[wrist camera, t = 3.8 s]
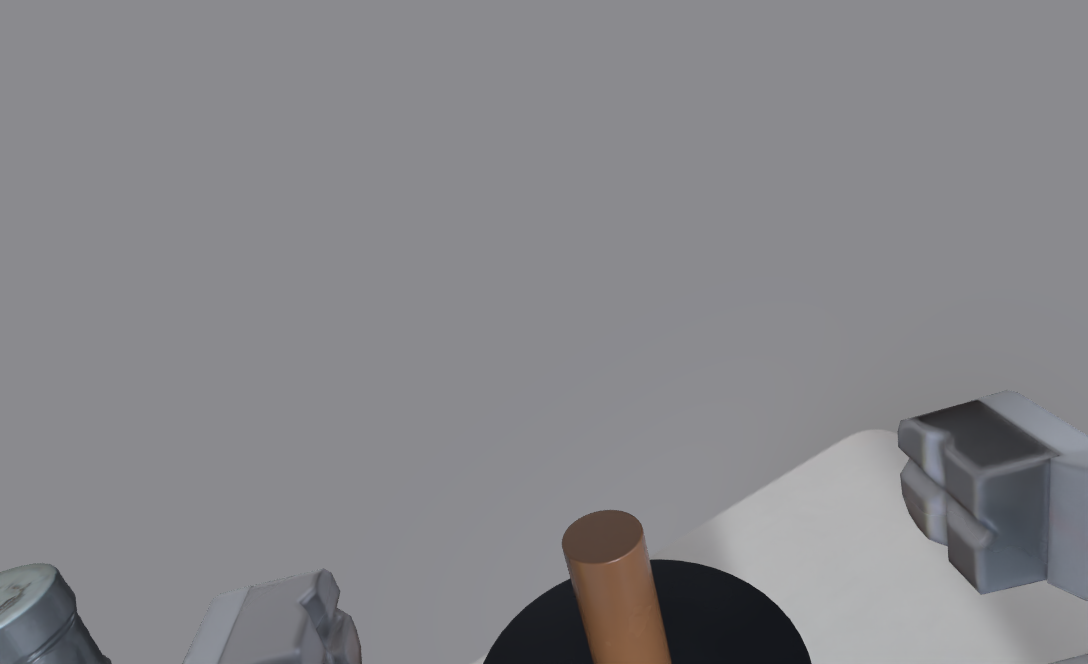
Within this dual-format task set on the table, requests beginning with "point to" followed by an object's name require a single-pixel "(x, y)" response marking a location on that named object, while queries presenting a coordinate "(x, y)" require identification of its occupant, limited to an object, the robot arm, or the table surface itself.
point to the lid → (644, 609)
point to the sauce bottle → (42, 620)
